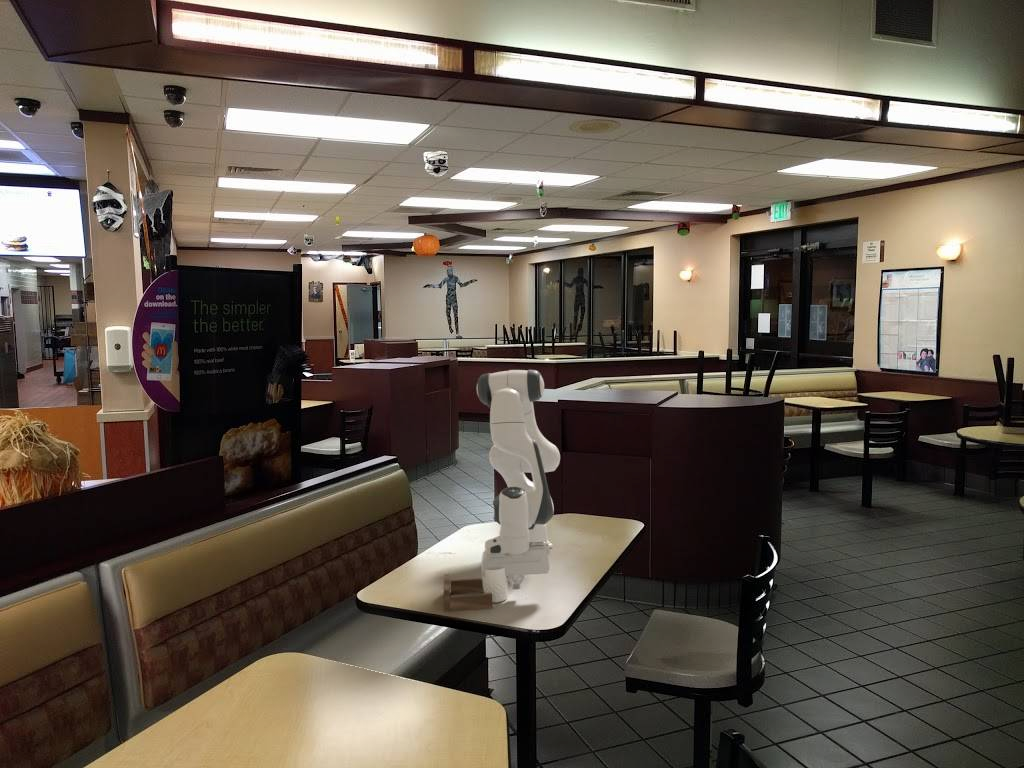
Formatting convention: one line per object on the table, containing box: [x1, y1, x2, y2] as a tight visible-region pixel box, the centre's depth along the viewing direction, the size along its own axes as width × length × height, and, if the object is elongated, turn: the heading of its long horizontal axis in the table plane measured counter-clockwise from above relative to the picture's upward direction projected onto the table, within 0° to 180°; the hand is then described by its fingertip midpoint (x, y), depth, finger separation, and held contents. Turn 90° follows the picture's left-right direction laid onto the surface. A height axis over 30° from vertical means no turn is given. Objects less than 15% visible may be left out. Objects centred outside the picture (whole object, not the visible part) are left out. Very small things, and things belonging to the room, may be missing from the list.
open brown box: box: [443, 573, 494, 612], centre depth 199 cm, size 13×14×6 cm
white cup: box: [481, 568, 508, 603], centre depth 200 cm, size 8×8×10 cm
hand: (515, 589), depth 200 cm, fingers closed
